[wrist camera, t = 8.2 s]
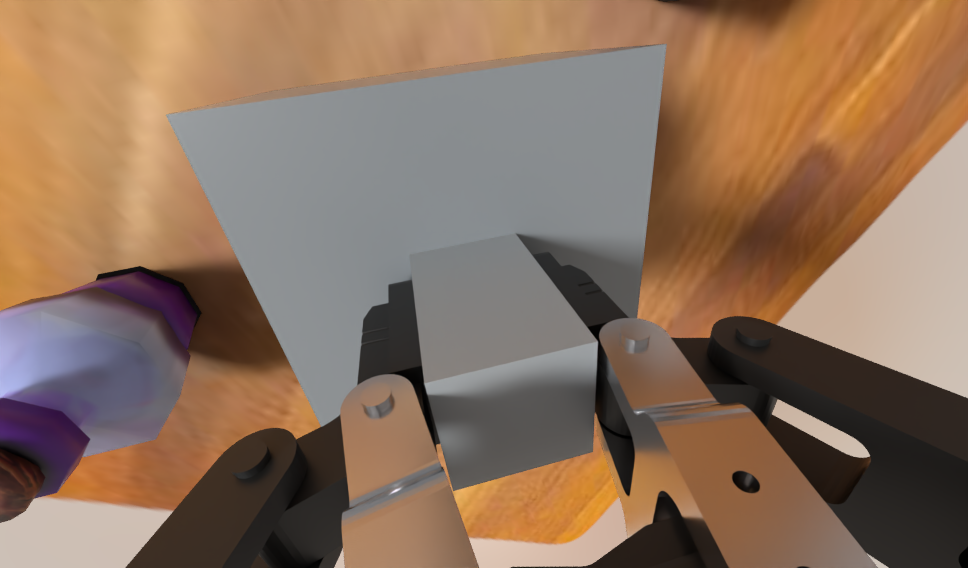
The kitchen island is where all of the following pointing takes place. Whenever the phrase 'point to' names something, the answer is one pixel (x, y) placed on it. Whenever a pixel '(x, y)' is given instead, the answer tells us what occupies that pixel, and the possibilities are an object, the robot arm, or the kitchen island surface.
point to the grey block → (446, 231)
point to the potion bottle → (87, 376)
